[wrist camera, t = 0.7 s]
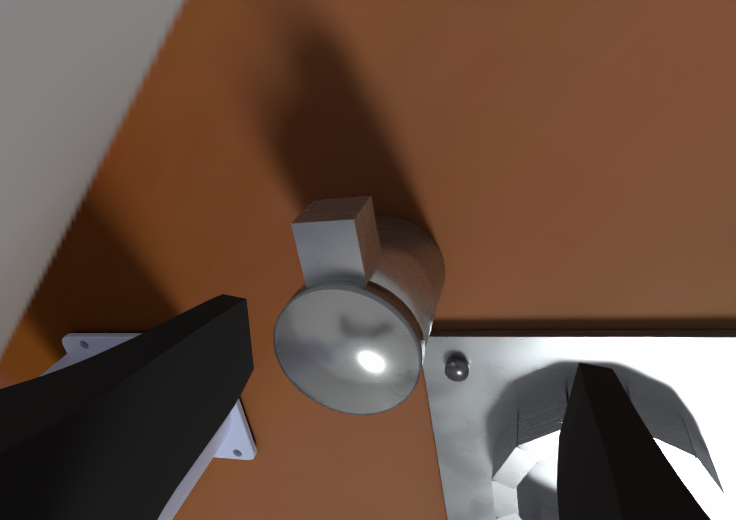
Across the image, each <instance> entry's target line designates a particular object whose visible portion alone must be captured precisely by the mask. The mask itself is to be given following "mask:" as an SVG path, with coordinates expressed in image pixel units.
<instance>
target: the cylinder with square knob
mask: <svg viewBox="0 0 736 520" xmlns="http://www.w3.org/2000/svg"><path fill="white" fill-rule="evenodd" d="M291 227H292V231H293V235H294V239H295V243H296V247H297V251H298V255H299V259H300V263H301V267H302V271H303V275H304V279H305V283H304V284H303V286H302V287H301V288H300V289H299V290H298V291H297V292H296V293H295V294H294V295H293V297H292V298H291V299H290V301H289V302H288V303H287V305H286V306H285V307H284V309H283V310H282V312H281V313H280V315H279V316H278V319H277V321H276V324H275V328H274V336H273V340H274V349H275V353H276V356H277V359H278V362H279V364H280V366H281V368H282V370H283V371H284V373H285V374H286V376H287V377H288V379H289V380H290V381H291V382H292V383H293V384H294V385H295V386H296V387H297V388H298V389H299V390H300V391H301V392H302V393H303V394H305V395H306V396H307V397H309V398H310V399H312V400H313V401H315V402H317V403H319V404H320V405H322V406H325V407H327V408H329V409H332V410H335V411H338V412H342V413H347V414H355V415H370V414H377V413H381V412H385V411H388V410H390V409H393V408H394V407H396V406H398V405H400V404H401V403H402V402H404V401H405V400H406V399H407V398H408V397H409V396H410V395H411V393H412V392H413V390H414V389H415V387H416V385H417V382H418V380H419V376H420V373H421V369H422V366H423V362H424V358H425V349H426V346H427V342H428V339H429V335H430V331H431V328H432V324H433V321H434V317H435V314H436V310H437V307H438V303H439V300H440V296H441V292H442V289H443V285H444V281H445V264H444V260H443V257H442V254H441V252H440V250H439V248H438V246H437V244H436V243H435V241H434V240H433V239H432V238H431V237H430V236H429V234H428V233H426V232H425V231H424V230H423V229H422V228H420V227H419V226H417V225H416V224H414V223H412V222H410V221H408V220H406V219H403V218H400V217H396V216H390V215H375V214H374V208H373V203H372V197H371V196H360V197H348V198H335V199H323V200H313V201H312V202H311V203H310V204H309V205H308V206H307V207H306V209H305V210H304V211H303V212H302V213H301V214H300V215H299V216H298V217H297V218H296V219H295V220H294V221H293V222H292V223H291Z"/></svg>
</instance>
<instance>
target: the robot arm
mask: <svg viewBox="0 0 736 520" xmlns="http://www.w3.org/2000/svg"><path fill="white" fill-rule="evenodd" d="M62 344H63V346H64V348H65V350H66V352H67V354H66V355H65V356H64V357H63V358H61V359H60V360H59V361H58V362H56V363H55V364H54V365H53V366H52V367H50V368H49V369H48V370H47V371H45V372H44V373H43V374H42V375H41V376H39V377H37V378H35V379H32V380H29V381H25V382H22V383H19V384H16V385H12V386H9V387H6V388H3V389H0V520H172V519H173V517H174V516H175V514H176V513H177V511H178V510H179V508H180V507H181V505H182V504H183V502H184V501H185V499H186V498H187V496H188V495H189V493H190V492H191V490H192V489H193V487H194V486H195V484H196V483H197V481H198V480H199V478H200V476H201V475H202V473H203V472H204V470H205V469H206V467H207V466H208V464H209V463H210V461H211V460H212V458H213V457H219V458H231V459H243V460H251V459H253V458H254V456H255V455H256V453H257V449H256V446H255V444H254V441H253V438H252V435H251V432H250V429H249V426H248V423H247V420H246V417H245V415H244V412H243V409H242V406H241V403H240V400H239V397H240V395H241V393H242V391H243V389H244V387H245V385H246V383H247V381H248V379H249V377H250V375H251V373H252V371H253V369H254V366H253V357H252V347H251V338H250V328H249V319H248V309H247V300H246V299H245V298H239V297H234V296H229V295H224V294H222V295H220V296H217V297H215V298H213V299H210V300H208V301H206V302H204V303H202V304H200V305H198V306H196V307H194V308H192V309H190V310H188V311H186V312H184V313H182V314H180V315H178V316H176V317H174V318H172V319H170V320H168V321H166V322H164V323H162V324H160V325H158V326H156V327H154V328H152V329H150V330H148V331H146V332H144V333H69V334H67V335H66V336H64V337H63V338H62ZM557 498H558V511H559V520H711V518H710V517H709V516H708V514H707V513H706V512H705V511H704V509H703V508H702V507H701V505H700V504H699V503H698V501H697V500H696V499H695V497H694V496H693V494H692V493H691V492H690V490H689V489H688V488H687V486H686V485H685V484H684V482H683V481H682V479H681V478H680V477H679V475H678V474H677V472H676V471H675V469H674V468H673V467H672V465H671V464H670V462H669V461H668V459H667V458H666V456H665V454H664V453H663V451H662V450H661V448H660V447H659V445H658V444H657V442H656V441H655V439H654V438H653V436H652V435H651V433H650V431H649V430H648V428H647V427H646V425H645V423H644V422H643V420H642V418H641V417H640V415H639V413H638V412H637V410H636V408H635V407H634V405H633V403H632V401H631V400H630V398H629V396H628V394H627V393H626V391H625V389H624V387H623V385H622V384H621V382H620V380H619V378H618V376H617V375H616V373H615V372H614V371H613V369H612V368H606V367H601V366H596V365H591V364H585V363H580V362H579V364H578V367H577V371H576V375H575V378H574V382H573V386H572V390H571V393H570V397H569V401H568V404H567V408H566V412H565V415H564V419H563V423H562V426H561V430H560V434H559V440H558V460H557Z"/></svg>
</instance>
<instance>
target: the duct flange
mask: <svg viewBox="0 0 736 520" xmlns="http://www.w3.org/2000/svg"><path fill="white" fill-rule="evenodd" d="M579 362H580V363H585V364H591V365H596V366H601V367H606V368H612V369H613V371H614V372H615V373H616V375H617V376H618V378H619V380H620V382H621V384H622V385H623V387H624V389H625V391H626V393H627V394H628V396H629V398H630V400H631V401H632V403H633V405H634V407H635V408H636V410H637V412H638V413H639V415H640V417H641V418H642V420H643V422H644V423H645V425H646V427H647V428H648V430H649V431H650V433H651V435H652V436H653V438H654V439H655V441H656V442H657V444H658V445H659V447H660V448H661V450H662V451H663V453H664V454H665V456H666V458H667V459H668V461H669V462H670V464H671V465H672V467H673V468H674V469H675V471H676V472H677V474H678V475H679V477H680V478H681V479H682V481H683V482H684V484H685V485H686V486H687V488H688V489H689V490H690V492H691V493H692V494H693V496H694V497H695V499H696V500H697V501H698V503H699V504H700V505H701V507H702V508H703V509H704V511H705V512H706V513H707V514H708V516H709V517H710V518H711V520H736V330H431V331H430V335H429V339H428V342H427V346H426V349H425V358H424V362H423V369H424V375H425V381H426V387H427V393H428V400H429V406H430V412H431V418H432V425H433V431H434V437H435V443H436V449H437V456H438V462H439V468H440V474H441V480H442V487H443V493H444V499H445V505H446V512H447V518H448V520H559V511H558V498H557V460H558V440H559V434H560V430H561V426H562V423H563V419H564V415H565V412H566V408H567V404H568V401H569V397H570V393H571V390H572V386H573V382H574V378H575V375H576V371H577V367H578V364H579Z"/></svg>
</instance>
